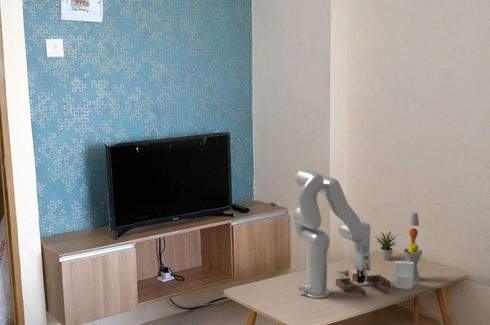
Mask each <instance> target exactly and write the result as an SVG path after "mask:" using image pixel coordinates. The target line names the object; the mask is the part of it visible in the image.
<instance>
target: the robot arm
mask: <svg viewBox="0 0 490 325" xmlns="http://www.w3.org/2000/svg"><path fill="white" fill-rule="evenodd" d="M294 180H295V182H296V184H297V185H298V186H299V187H302V188H301V191H300V192H299V195H298V199H297V200H298V201H297V202H298V206H297V207H296V208H295V209H294V211H293V214H292V220H293V224H294V228H295V230H296V234H297V238H298V240H299V242H301V243H302V244H303V245H305V246H307V247H309V250H308V252H307V257H306V282H305V283H304V285H303V286H297V287H296V290H297V291H301V292H302V293H303V294H304V296H306V297H309V298H313V299H323V298H326V297H329V296H330V294H331V291H330V290H329V289H328V286H327V284H328V283H327V280H328V251H329V246H330V237H329V235H328V233H326V232H325V231H324V230H322V229H320V227H321V225H322V215H321V212H320V209H319V203H318V199H317V197H318V193H321V194H323V195H324V196H325V199H326V201H327V202H328V203H327V204H328V206H329V207H330V210H331V212H332V213H333V214H334V215H335V216H336V217H337V218H339V219H340V220H341V221H342V222H343V223H341V224H340V226H339V227H338V234H339V235H340V236H341V237H343V238H345V239H346V240H350V241H352V242H354V243H353V245H354V246H353V250H354V251H353V260H352V263H353V265H352V266H353V267H354V269H356V270H357V274H358V275H357V281H356V283H357V284H364V283H365V280H364V276H365V274H367V275H368V272H369V271H371V253H370V249H371V248H370V246H371V244H370V243H371V225H370V223H369V222H365V221H361V219H360V217H359V216H358V215H357V213H356V212H355V211H354V210H353V208H352V207H351V206H350V204H349V202H348V200H347V198H346V195H345V193H344V191H343V189H342V186H341V184H340V182H339V181H338V180H337V179H336V178H333V177H330V176H326V175H323V174H321V173H319V172H317V171H314V170H310V169H306V168H303V169H300V170H298V171H297V172H296V173H295V175H294Z"/></svg>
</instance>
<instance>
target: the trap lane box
mask: <svg viewBox="0 0 490 325" xmlns="http://www.w3.org/2000/svg"><path fill="white" fill-rule="evenodd" d="M349 270H356V268H354V269H353V268H351V269H343V270H337V278H336V279H335V286H337V287H338V288H339V289H341V291H343V292H344V293H351V292H356V293H358V294H359V295H360V296H362V297H363V298H365V297H367V290H366V289H364V288H363V287H362V286H361V285H359V283H354V284H351V279H350V278H349V277H348V273H349ZM364 282H367V283H369V284H370V285H371V286H372V287H374V288H375V289H376V290H378V291H379V292H381V293H382V294H383V295H388V288H390V287H391V281H390V280H389V279H387V278H386V277H384V276H383V275H381V274H380V273H379V274H372V275H370V274H368V273H367V274H365V276H364Z"/></svg>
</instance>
